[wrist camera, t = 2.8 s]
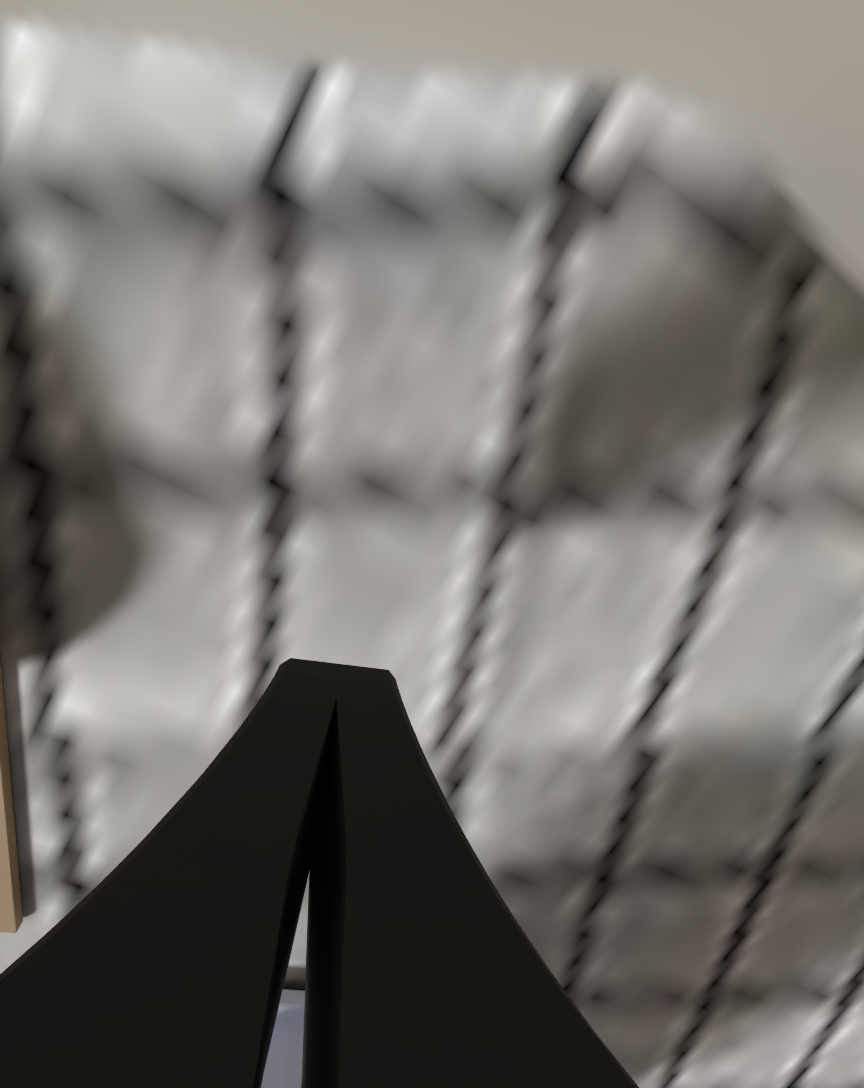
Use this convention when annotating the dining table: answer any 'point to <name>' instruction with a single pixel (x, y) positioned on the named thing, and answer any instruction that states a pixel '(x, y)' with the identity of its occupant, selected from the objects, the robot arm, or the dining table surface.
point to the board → (7, 838)
